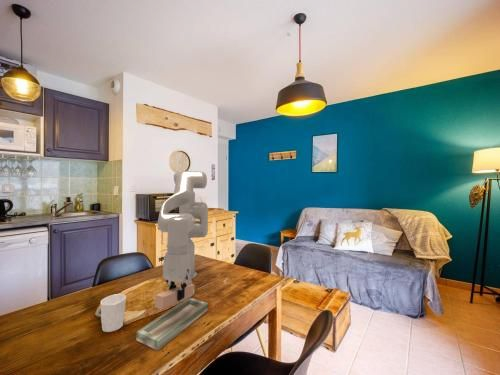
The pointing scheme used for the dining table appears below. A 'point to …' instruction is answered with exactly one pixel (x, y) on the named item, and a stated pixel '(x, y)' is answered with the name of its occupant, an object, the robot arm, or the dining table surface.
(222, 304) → the dining table surface
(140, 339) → the glass channel tray
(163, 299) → the clay strip
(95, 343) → the dining table surface
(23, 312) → the dining table surface
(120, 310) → the white cup
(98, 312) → the pastry
